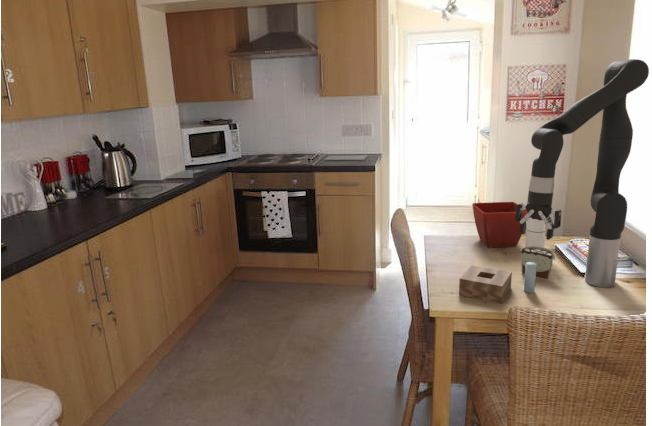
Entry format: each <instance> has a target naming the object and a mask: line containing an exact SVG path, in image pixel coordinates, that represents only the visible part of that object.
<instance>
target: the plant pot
mask: <svg viewBox="0 0 652 426" xmlns="http://www.w3.org/2000/svg"><path fill="white" fill-rule="evenodd" d="M518 204H519V203H516V202H515V201H497V202H496V201H494V202H493V201H492V202H491V201H490V202H473V203H472V212H473V218H474V219H473V220H474V223H475V227H476V231H477V236H478V237H479V240H480V241H481V243H483V244H484V246H486V247H487V248H507V247H508V248H514V247H517V245H518V244H519V243H520V239H521V237H522V235H523V234H521V232H520V222H519V221H516V220H515V216H516V210H517V205H518ZM526 214H528V212H527V211H526V208H525V209H524V210H523V212H522V217H521V218H524V216H525V215H526Z"/></svg>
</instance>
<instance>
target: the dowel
mask: <svg viewBox="0 0 652 426" xmlns="http://www.w3.org/2000/svg"><path fill="white" fill-rule="evenodd" d="M536 266H537V264H536V263H533V262H527V263H526V266H525V275H524V280H523V281H524V282H523V283H524V284H523V286H524V287H523V292H524V293H526V294H534V293H535V289H536V279H537V278H536Z"/></svg>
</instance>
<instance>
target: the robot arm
mask: <svg viewBox="0 0 652 426" xmlns="http://www.w3.org/2000/svg"><path fill="white" fill-rule="evenodd" d="M649 75H650V69H649V66H648V64H647V62H645V61H644V60H642V59H634V58H632V59H621V60H615V61H613V62H612V63H610V64H609V65H608V66H607V68H606V70H605V71H604V77H603V86H602V87H601V88H599V89H597V90H596V91H594V92H592V93H590V94H588V95H586V96H584V97H582V98H581V99H579V100H578V101H576V102H575V103H573V104H571V105H570V106H569V107H568V108H567V109H566V110H564V111H563V112H562V113H560V115H558V116H557V117H556V118H554V119H552V120H550V121H548V122H546V123H545V124H543V125H541V126H539V128H537V129H536V130H535V131H534V133H533V134H532V136H531V138H530V139H531V140H530V141H531V145H532V146H533V147H534V148H535V149H537V150H540V152H539V153H540V154H539V156H538V157H537V158H535V159H534V160H533V162H532V167H531V176H530V179H529V184H528V194H527V202H526V204H525V203H523V202H522V203H521V202H520V203H517V204H518V205H517V210H516V216H515V220H516V221H519V222H520V232H521V234H522V235H526V232H527V220H528V219H530V218H532V219H537V220H543V221H544V223H545V224H546V236H545V240H547V241H549V240H551V239H552V238H553V236H554V231H555V229H558V228H561V223H562V213H563V212H562V209H553V208H552V205H553V197H554V191H555V174H556V166H557V162H558V161H559V158H560V156H561V153H562V150H563V147H564V135H569V134H573V133H575V132H576V131H577V130H579V129H580V128H581V127H582V126H584V125H585V124H586V123H587V122H588V121H590V120H591V119H592V118H593V117H595V116H596V115H597V114H599V113H600V112H602V120H601V128H600V133H599V142H598V152H597V153H598V154H597V164H596V174H595V180H594V183H593V184H594V185H593V188H592V193H591V196H590V207H591V209H592V210H593V211H594V212H595V218H594V224H593V225H592V226H591V227H590V230H589V240H588V249H587V258H586V266H585V274H584V275H585V277H584V281H585V283H587V284H588V285H591V286H594V287H598V288H599V287H600V288H615V285H616V279H617V278H616V277H617V270H618V269H617V268H618V263H619V261H618V260H619V253H620V252H619V251H620V246H621V245H620V244H621V243H620V242H621V238H622V233H623V231H624V229H625V225H626V220H627V213H628V201H627V199H626V197H625V196H624V195H623V194H621V193H619V191H620V190H619V188H620V187H619V185H620V177H621V173H622V170H623V168H624V167H625V164H626V162H628V158H629V156H630V153H631V149H632V143H633V142H632V141H633V138H634V137H633V136H634V130H633V124H632V121H631V119H630V118H631V117H630V115H629V114H628V109H627V95H628V94H629V93H631V92H633V91H635V90H636V89H638V88H639V87H641V86H642V85H644V84H645V82H646V81H647V80H648V77H649ZM524 209H526V211H527V212H528V214H526V215H525V216H524V218H521V217H522V212H523V210H524ZM551 214H552V215H553V217H554V222H553V219H552V218H551V216H550V215H551Z"/></svg>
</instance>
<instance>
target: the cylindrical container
mask: <svg viewBox="0 0 652 426" xmlns="http://www.w3.org/2000/svg"><path fill="white" fill-rule="evenodd" d="M526 223H527V224H526V232H525V235H526V236H525V246H524V247H542V248H545V245H546V233H547V225H546V224H545V223H544V221H543V220H537V219H532V218H530V219H528V220H527V221H526Z"/></svg>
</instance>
